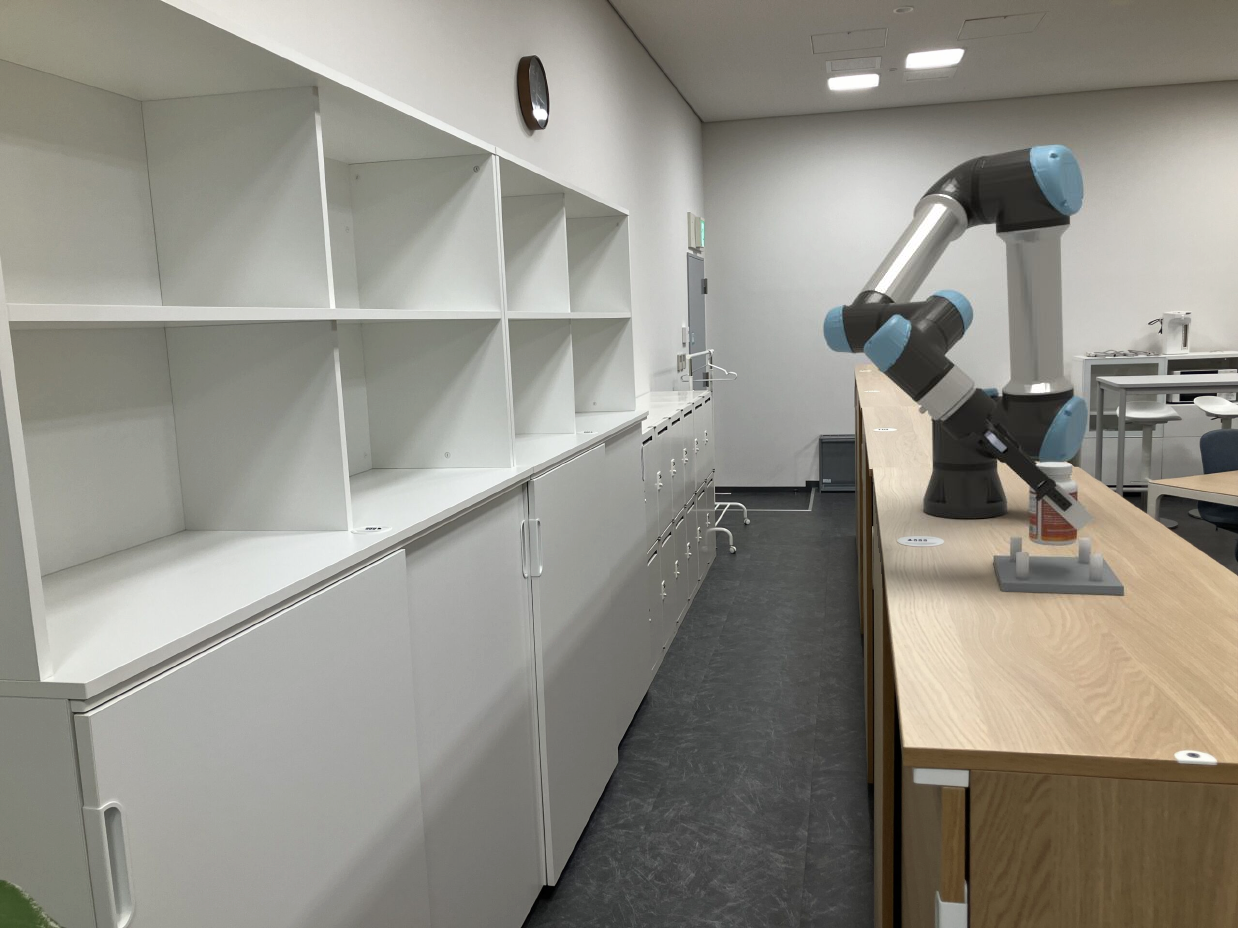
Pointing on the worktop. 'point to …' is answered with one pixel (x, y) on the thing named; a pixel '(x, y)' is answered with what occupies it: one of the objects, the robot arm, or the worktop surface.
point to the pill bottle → (1052, 509)
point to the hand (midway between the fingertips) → (1081, 518)
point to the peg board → (1056, 572)
